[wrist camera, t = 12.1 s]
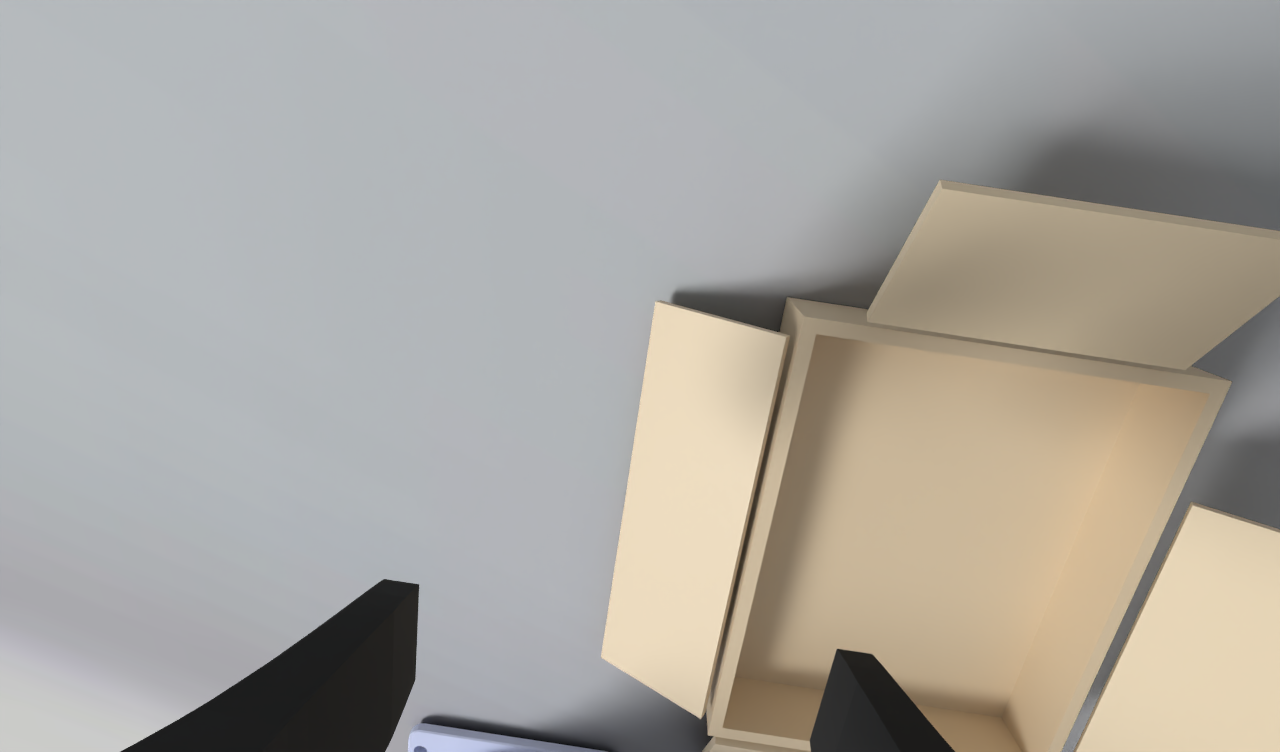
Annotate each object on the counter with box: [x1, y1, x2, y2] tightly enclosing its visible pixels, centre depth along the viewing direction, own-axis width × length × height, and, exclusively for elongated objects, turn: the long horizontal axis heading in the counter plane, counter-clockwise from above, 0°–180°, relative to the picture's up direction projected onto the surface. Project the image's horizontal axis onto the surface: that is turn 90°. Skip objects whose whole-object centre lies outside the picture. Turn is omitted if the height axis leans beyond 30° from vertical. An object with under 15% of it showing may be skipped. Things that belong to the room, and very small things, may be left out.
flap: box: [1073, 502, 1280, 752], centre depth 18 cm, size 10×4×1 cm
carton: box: [601, 297, 1232, 752], centre depth 20 cm, size 18×15×3 cm
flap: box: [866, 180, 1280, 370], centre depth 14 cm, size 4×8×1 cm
